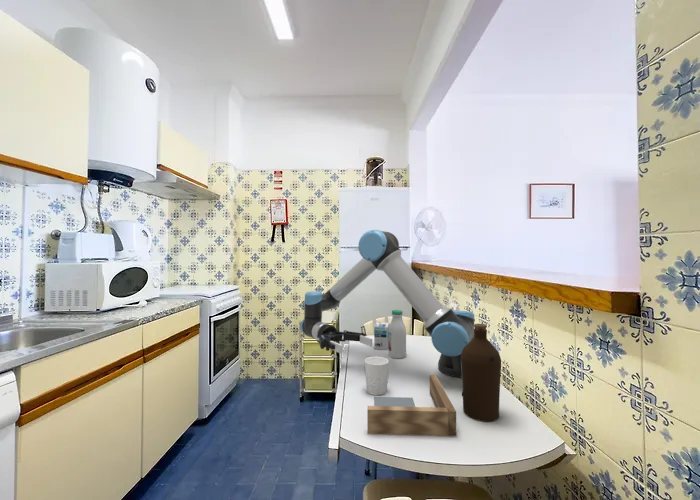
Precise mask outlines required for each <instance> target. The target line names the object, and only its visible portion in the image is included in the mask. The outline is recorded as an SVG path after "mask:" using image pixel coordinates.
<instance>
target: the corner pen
mask: <svg viewBox="0 0 700 500" xmlns="http://www.w3.org/2000/svg"><path fill="white" fill-rule="evenodd" d="M429 396H430V397H431V400H432V402H433V404H434V407H433V406H431V407H430V406H428V407H426V406H425V407H424V406H415V407H398V406H374V405H367V408H366V409H367V410H366V411H367V412H366V413H367V417H366V418H367V421H366V422H367V425H366V426H367V427H366V428H367V430H366V431H367V434H375V435H377V434H378V435H379V434H380V435H405V436H407V435H409V436H439V437H443V436H444V437H445V436H446V437H457V410H456V409H455V407H454V405H453V404H452V401H451V400H450V398H449V396H448V394H447V393H446V390H445V389H444V387H443V385H442V384H441V381H440V380H439V378H438V377H437V375H436V374H429Z"/></svg>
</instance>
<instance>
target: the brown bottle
mask: <svg viewBox="0 0 700 500" xmlns="http://www.w3.org/2000/svg"><path fill="white" fill-rule="evenodd" d="M487 334H488V329H487V324H485V323H474V338H473V339H472V340H471V341H470V342H469V343H468V344H467V345H466V346H465V347H464V348H463V350H462V353H461V373H462V377H461V388H462V389H461V390H462V392H461V397H462V411H463V413H464V414H465V415H466V416H467V417H469V418H471V419H473V420H476V421H479V422H480V421H481V422H493V421H496V420H498V419H499V417H500V395H501V392H500V390H501V377H502V376H501V374H502V373H501V372H502V371H501V370H502V358H501V355H500V353H499V350H498V349H497V348H496V347H495V346H494V345H493V344H492V342H491V341H489V339H488V338H487V337H488V335H487Z"/></svg>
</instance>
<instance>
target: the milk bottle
mask: <svg viewBox="0 0 700 500" xmlns="http://www.w3.org/2000/svg"><path fill="white" fill-rule="evenodd" d="M391 316H392V318H391V322H389V323H390V326H389V334H388V350H387V351H388V356H389V358H393V359H405V358H406V357H407V329H406V328H407V327H406V325H405V323H404V320H403V310H401V309H393V310H391Z"/></svg>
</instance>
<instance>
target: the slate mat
mask: <svg viewBox="0 0 700 500" xmlns="http://www.w3.org/2000/svg"><path fill="white" fill-rule="evenodd" d="M373 404H374V405H373V406H398V407H416V405H415V401H414V398H413V397H405V396H404V397H400V396H395V397H394V396H373Z"/></svg>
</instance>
